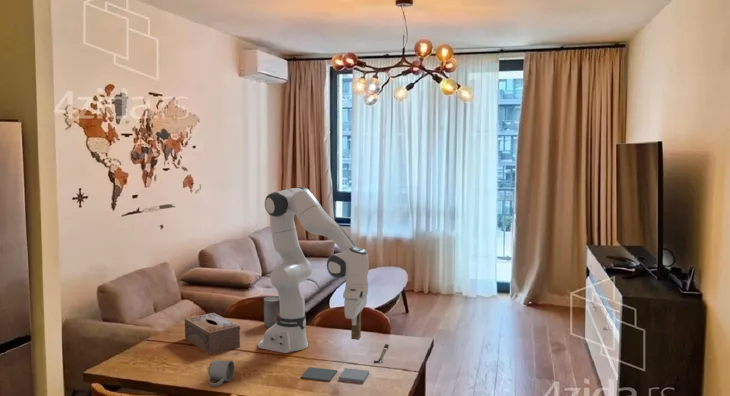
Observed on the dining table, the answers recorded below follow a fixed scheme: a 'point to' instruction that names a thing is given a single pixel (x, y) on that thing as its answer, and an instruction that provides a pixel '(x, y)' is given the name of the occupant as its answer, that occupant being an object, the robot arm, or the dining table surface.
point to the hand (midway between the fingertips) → (355, 323)
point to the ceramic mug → (221, 371)
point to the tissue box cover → (212, 333)
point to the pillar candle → (271, 310)
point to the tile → (353, 375)
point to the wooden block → (356, 328)
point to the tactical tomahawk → (382, 354)
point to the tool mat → (319, 374)
